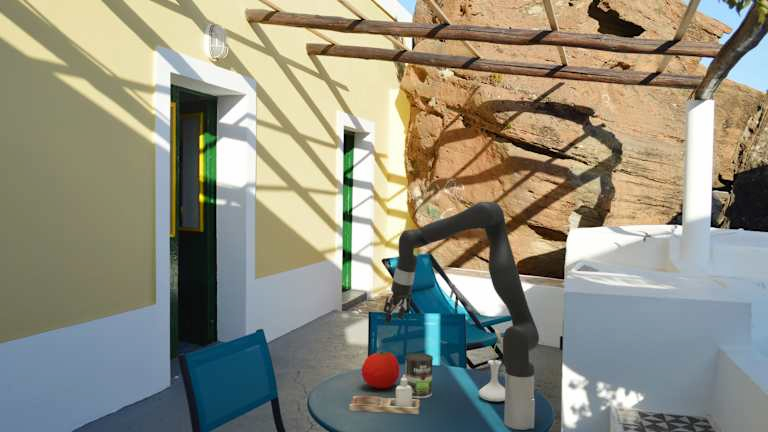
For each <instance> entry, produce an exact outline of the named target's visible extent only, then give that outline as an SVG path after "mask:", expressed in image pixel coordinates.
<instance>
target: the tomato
mask: <svg viewBox="0 0 768 432" xmlns="http://www.w3.org/2000/svg"><path fill="white" fill-rule="evenodd" d="M400 372H401V371H400V364H399V361H398V359H397V357H396V356H395V355H394V354H392V353H391V350H390V351H389V350H388V351H381V350H380V348H378V352H375V353H373V354H370V355H369V356H368V357H366V358H365V360H364V362H363V364H362V366H361V377H362V378H363V381H364V382H365V383H366V384H367V385H369V386H370V387H373V388H376V389H389V388H390V387H391V386H394V384H395V383H396V382H397V381H398V379H399V377H400Z"/></svg>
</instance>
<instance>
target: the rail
mask: <svg viewBox="0 0 768 432" xmlns="http://www.w3.org/2000/svg"><path fill="white" fill-rule="evenodd" d="M348 406H349V408H348V409H349V411H350V412H366V413H367V412H368V413H369V412H370V413H385V414H387V413H388V414H408V415H410V414H411V415H419V414H420V406H421V400H420V399H418V398H412V407H401V406H396V397H395V398H393V397H392V398H391V397H381V396H369V395H368V396H366V395H356V396H353V397H352V400H351V403H350V404H349V405H348Z"/></svg>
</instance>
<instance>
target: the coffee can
mask: <svg viewBox="0 0 768 432" xmlns="http://www.w3.org/2000/svg"><path fill="white" fill-rule="evenodd" d="M404 358H405V374H404V375H405V378H407V385H409V386H411V388H412V399H427V398H430V397H432V395H433V361H434V360H433V359H434V357H433V355H431V354H428V353H421V352H415V353H409V354H406V355H405V357H404Z"/></svg>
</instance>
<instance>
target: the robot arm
mask: <svg viewBox="0 0 768 432" xmlns="http://www.w3.org/2000/svg"><path fill="white" fill-rule="evenodd" d="M476 229H480V230H484V231H485V234H486V237H487V242H488V244H489V245H488V246H489V248H488V249H489V253H488V255H489V256H488V272H489V275H490V279H491V283H492V286H493V289H494V290H495V293H496V294H497V295H498V297H499V299H501V302H503V304H504V305H505V306H506V309H507V310H508V313H509V316H510V319H511V323H512V326H509V327H507V328H506V330H505V331H504V333H503V336H502V338H503V346H502V361H503V365H504V368H505V372H504V373H505V375H504V381H505V382H504V388H505V400H504V415H503V416H504V417H503V419H504V420H503V422H504V425H505V426H506V427H508V428H510V429H513V430H521V431H522V430H529V429H535V406H536V404H535V403H536V401H535V397H534V396H535V394H534V393H535V392H534V391H535V366H534V364H533V363H532V362H530V355H529V352H530V351H532V350H534V349H535V348H537V346H538V344H539V342H540V341H539V340H540V336H539V335H540V334H539V330H538V328H537V326H536V323H535V320H534V318H533V316H532V315H533V314H532V313H531V311H530V308H529V305H528V302H527V298H526V295H525V291H524V288H523V285H522V280H521V277H520V273H519V269H518V267H517V264H516V261H515V257H514V254H513V250H512V246H511V244H510V240H509V235H508V230H507V225H506V219H505V214H504V211H503V209H502V207H501V206H500V204H498V203H497V202H494V201H480V202H477V203H475V204H473V205H471V206H470V207H468V208H466V209H464V210H463V211H460V212H458V213H456V214H454V215H451V216H448V217H445V218H442V219H439V220H435V221H432V222H429V223H427V224H425V225H424V226H423V227H419V228H415V229H407V230H403V231H402V233H401V234H400V235H399V239H398V260H397V264H396V268H395V271H394V274H393V278H392V284H391V287H390V290H391V293H392V295H391V297H390V296H387V297H386V299H385V303H384V307H383V312H384V313H385V318H384V322H385V323H387V324H391V323H392V318H393V314H394V313H395V311H396V310H398V308H399V310H398V313H397V318H398V319H399V320H402V319H403V320H404V317H405V312H406V311H407V310H408V309H407V308H410V306H411V301H412V300H411V299H412V296H413V294H412V288H413V284H414V281H415V280H414V279H415V275H416V273H415V272H416V268H417V264H418V257H417V256H416V255H415V254H414V251H415V249H419V248H422V247H425V246H427V245H430V244H432V243H436V242H439V241H443V240H445V239H448V238H452V237H453V236H454V235H456V234H458V233H461V232H464V231H469V230H476Z"/></svg>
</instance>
